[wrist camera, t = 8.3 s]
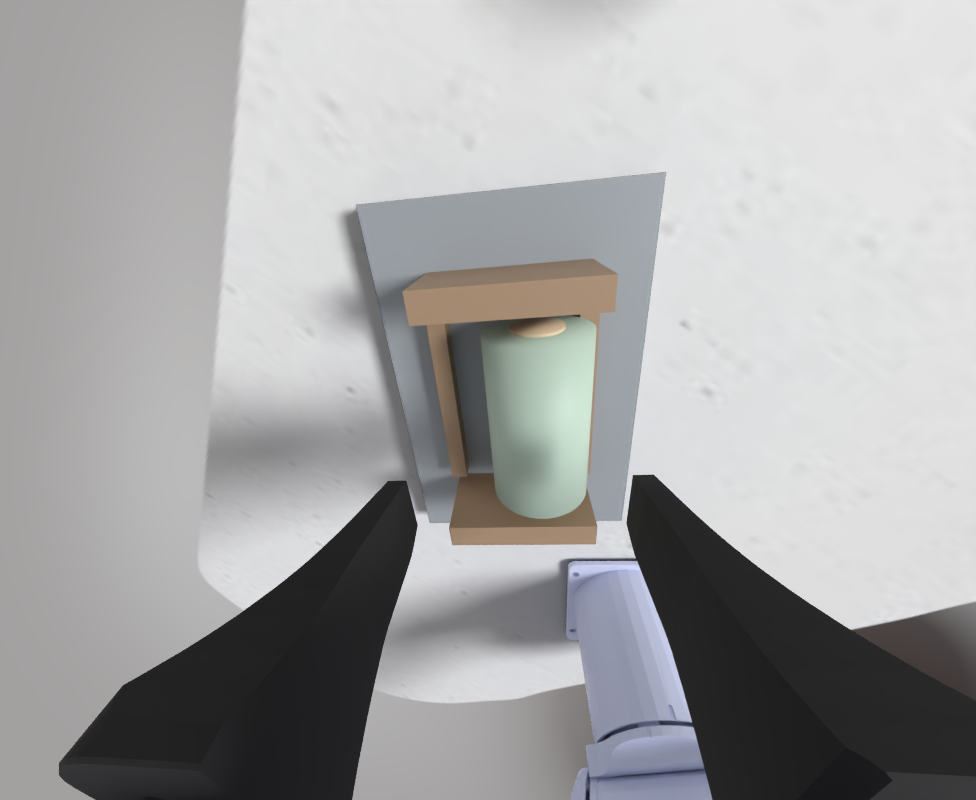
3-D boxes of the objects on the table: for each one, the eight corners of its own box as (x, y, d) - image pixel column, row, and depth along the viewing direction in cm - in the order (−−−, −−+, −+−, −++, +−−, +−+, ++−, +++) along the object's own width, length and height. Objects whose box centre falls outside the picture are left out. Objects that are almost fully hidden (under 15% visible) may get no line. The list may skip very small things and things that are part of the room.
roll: (556, 450, 20) (605, 501, 16) (482, 473, 19) (517, 534, 15) (557, 305, 16) (622, 328, 12) (465, 321, 15) (506, 353, 11)
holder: (616, 506, 22) (642, 581, 18) (433, 509, 24) (414, 580, 19) (654, 174, 14) (722, 158, 9) (366, 204, 15) (303, 202, 11)
